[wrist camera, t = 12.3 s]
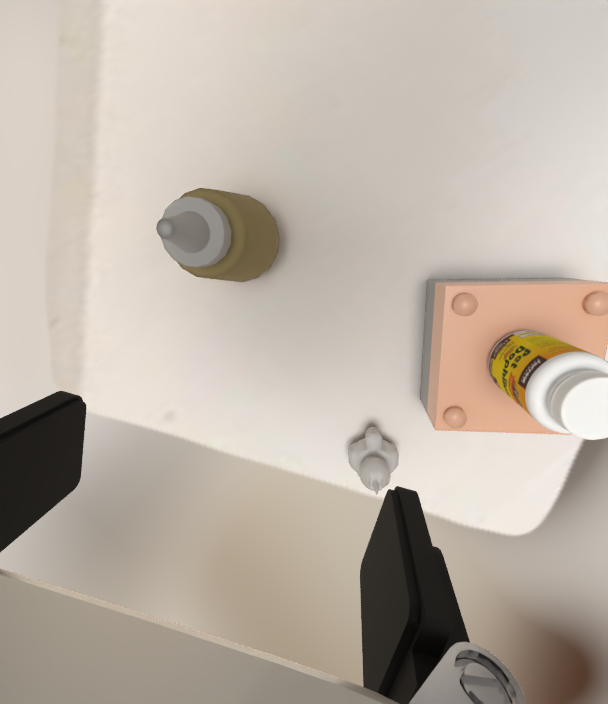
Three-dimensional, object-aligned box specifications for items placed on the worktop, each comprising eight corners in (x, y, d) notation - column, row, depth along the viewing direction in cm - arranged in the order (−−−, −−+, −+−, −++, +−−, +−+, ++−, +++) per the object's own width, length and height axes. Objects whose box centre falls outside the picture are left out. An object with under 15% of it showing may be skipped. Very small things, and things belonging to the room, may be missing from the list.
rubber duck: (349, 469, 44) (348, 514, 37) (348, 418, 43) (348, 454, 35) (395, 470, 44) (404, 517, 36) (396, 419, 42) (406, 456, 34)
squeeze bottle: (272, 289, 40) (213, 316, 22) (203, 265, 40) (91, 273, 23) (295, 214, 38) (249, 179, 20) (221, 188, 38) (113, 132, 20)
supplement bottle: (494, 324, 31) (563, 356, 21) (564, 333, 30) (668, 371, 20) (478, 386, 32) (534, 444, 22) (544, 396, 32) (632, 460, 22)
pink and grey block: (427, 279, 38) (448, 286, 30) (564, 277, 36) (626, 284, 28) (420, 398, 41) (437, 434, 33) (545, 401, 39) (596, 439, 31)
